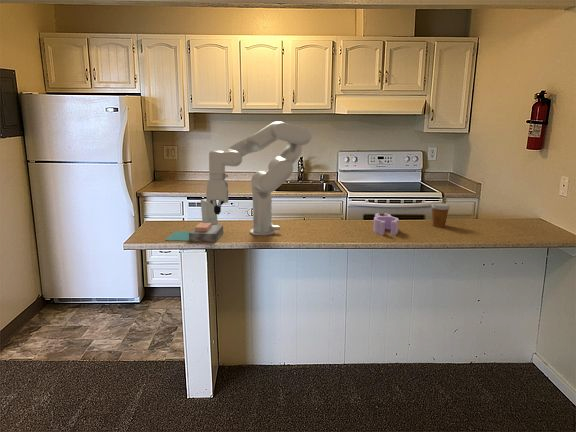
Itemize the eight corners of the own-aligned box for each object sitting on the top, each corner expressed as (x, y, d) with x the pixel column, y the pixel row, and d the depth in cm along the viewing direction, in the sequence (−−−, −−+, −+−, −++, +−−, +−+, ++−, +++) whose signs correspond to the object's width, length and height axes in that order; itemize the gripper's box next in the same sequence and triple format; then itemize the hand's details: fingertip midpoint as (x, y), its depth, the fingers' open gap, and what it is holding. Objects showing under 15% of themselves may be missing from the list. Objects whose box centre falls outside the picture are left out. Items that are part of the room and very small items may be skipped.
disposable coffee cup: (451, 226, 242) (453, 205, 239) (437, 228, 239) (439, 206, 236) (440, 222, 251) (441, 201, 248) (426, 224, 247) (427, 203, 245)
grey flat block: (223, 232, 230) (223, 225, 229) (216, 241, 215) (215, 233, 214) (198, 232, 231) (198, 224, 230) (189, 241, 215) (188, 233, 215)
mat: (197, 232, 231) (197, 231, 231) (188, 241, 216) (188, 240, 215) (175, 231, 232) (175, 231, 232) (164, 240, 216) (164, 240, 216)
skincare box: (218, 227, 241) (217, 200, 237) (207, 229, 237) (206, 201, 234) (211, 224, 247) (210, 197, 244) (201, 225, 244) (200, 198, 241)
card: (211, 226, 226) (211, 222, 226) (207, 231, 217) (207, 227, 217) (200, 226, 227) (199, 222, 226) (195, 231, 218) (194, 227, 217)
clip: (369, 225, 246) (370, 213, 244) (392, 225, 246) (393, 213, 244) (376, 235, 226) (376, 222, 225) (400, 235, 226) (401, 222, 224)
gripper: (234, 176, 218) (234, 213, 222) (203, 175, 219) (204, 211, 223) (231, 178, 211) (231, 216, 215) (199, 177, 212) (200, 215, 216)
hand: (217, 213), depth 219 cm, fingers closed
